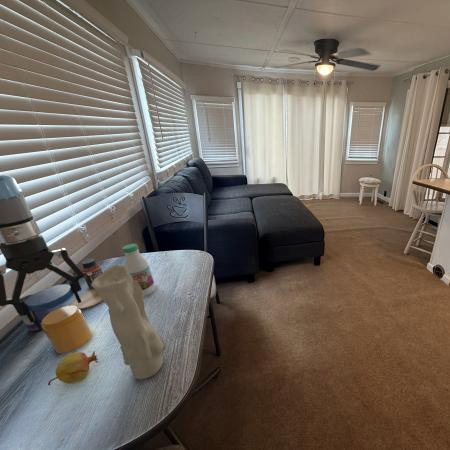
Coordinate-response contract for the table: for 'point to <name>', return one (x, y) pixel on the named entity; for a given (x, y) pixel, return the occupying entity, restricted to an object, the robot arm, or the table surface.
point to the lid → (49, 297)
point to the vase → (130, 321)
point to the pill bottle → (37, 316)
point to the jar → (66, 329)
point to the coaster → (87, 300)
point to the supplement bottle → (91, 271)
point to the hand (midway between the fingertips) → (57, 309)
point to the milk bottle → (138, 268)
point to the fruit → (74, 367)
